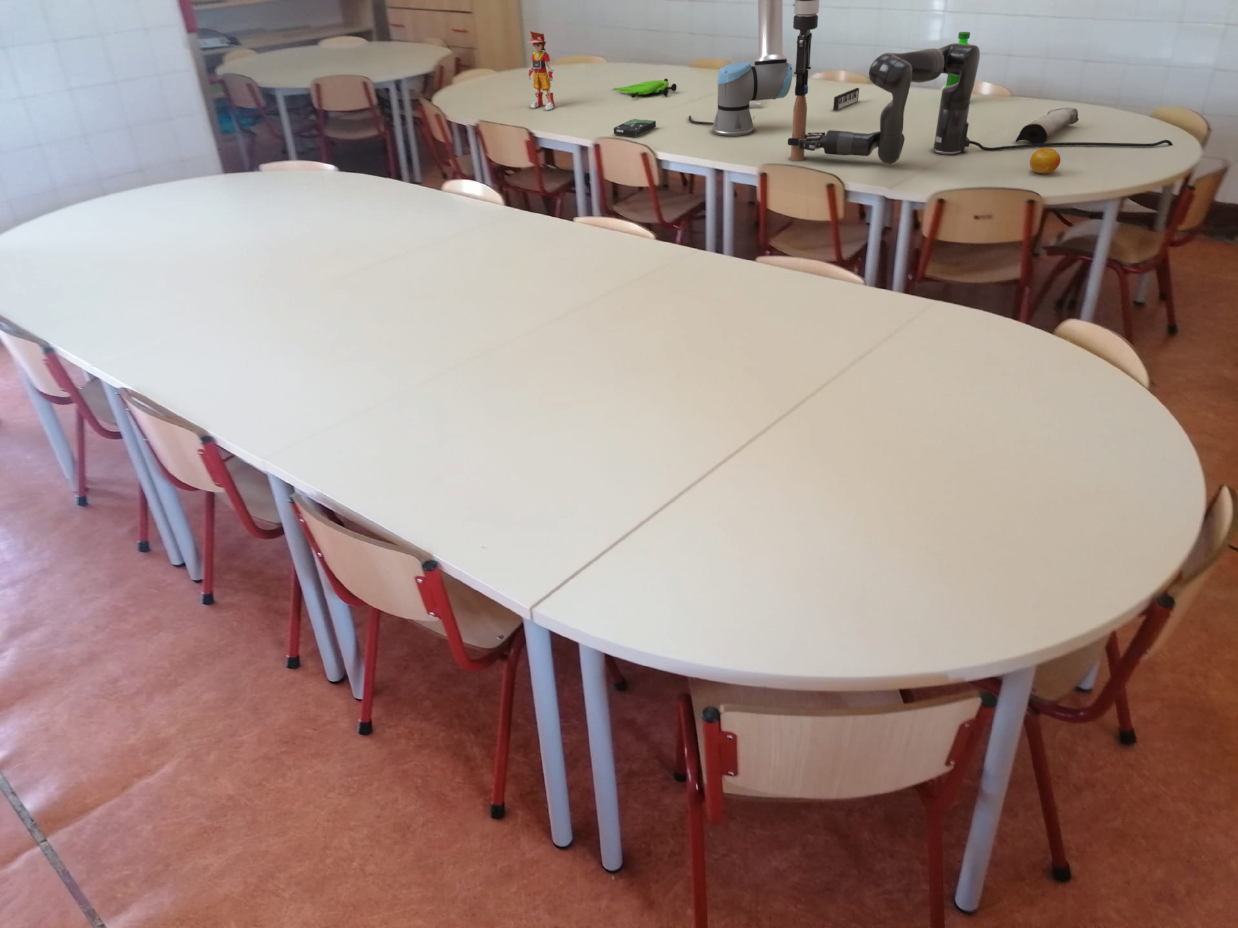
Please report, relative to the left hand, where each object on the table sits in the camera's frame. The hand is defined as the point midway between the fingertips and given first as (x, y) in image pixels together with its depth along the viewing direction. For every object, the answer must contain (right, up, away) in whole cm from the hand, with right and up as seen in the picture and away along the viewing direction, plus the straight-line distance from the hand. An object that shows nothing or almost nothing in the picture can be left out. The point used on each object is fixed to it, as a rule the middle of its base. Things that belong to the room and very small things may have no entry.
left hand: (801, 93), depth 292 cm
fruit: (+73, -30, -13) cm, 80 cm away
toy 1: (-92, +31, +91) cm, 133 cm away
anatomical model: (-7, +27, +77) cm, 82 cm away
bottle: (+1, -17, +12) cm, 21 cm away
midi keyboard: (+31, +22, +66) cm, 77 cm away
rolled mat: (+90, -6, +20) cm, 92 cm away
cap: (0, +1, -1) cm, 2 cm away
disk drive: (-53, +6, +51) cm, 74 cm away
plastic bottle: (+73, +22, +63) cm, 99 cm away
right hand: (-2, -12, +10) cm, 15 cm away
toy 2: (-50, +44, +105) cm, 124 cm away
